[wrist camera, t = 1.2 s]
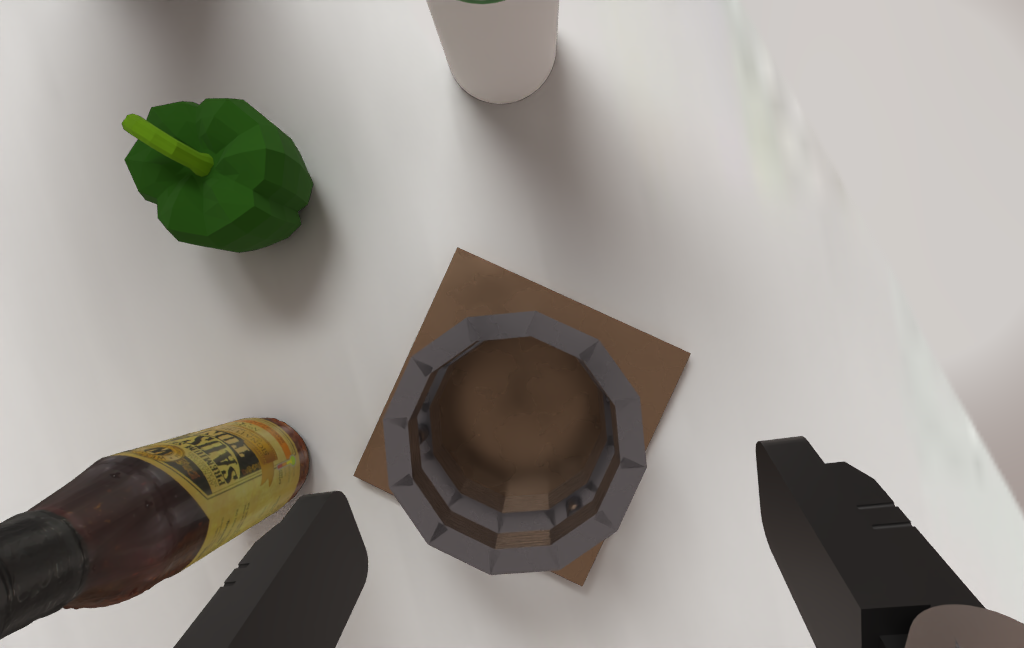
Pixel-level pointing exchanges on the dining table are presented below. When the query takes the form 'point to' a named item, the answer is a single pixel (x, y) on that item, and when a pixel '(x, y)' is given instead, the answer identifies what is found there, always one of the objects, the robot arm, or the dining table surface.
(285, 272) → the dining table surface
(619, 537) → the dining table surface
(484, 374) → the collar stand
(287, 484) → the sauce bottle
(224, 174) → the bell pepper
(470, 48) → the cylindrical container
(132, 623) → the dining table surface
